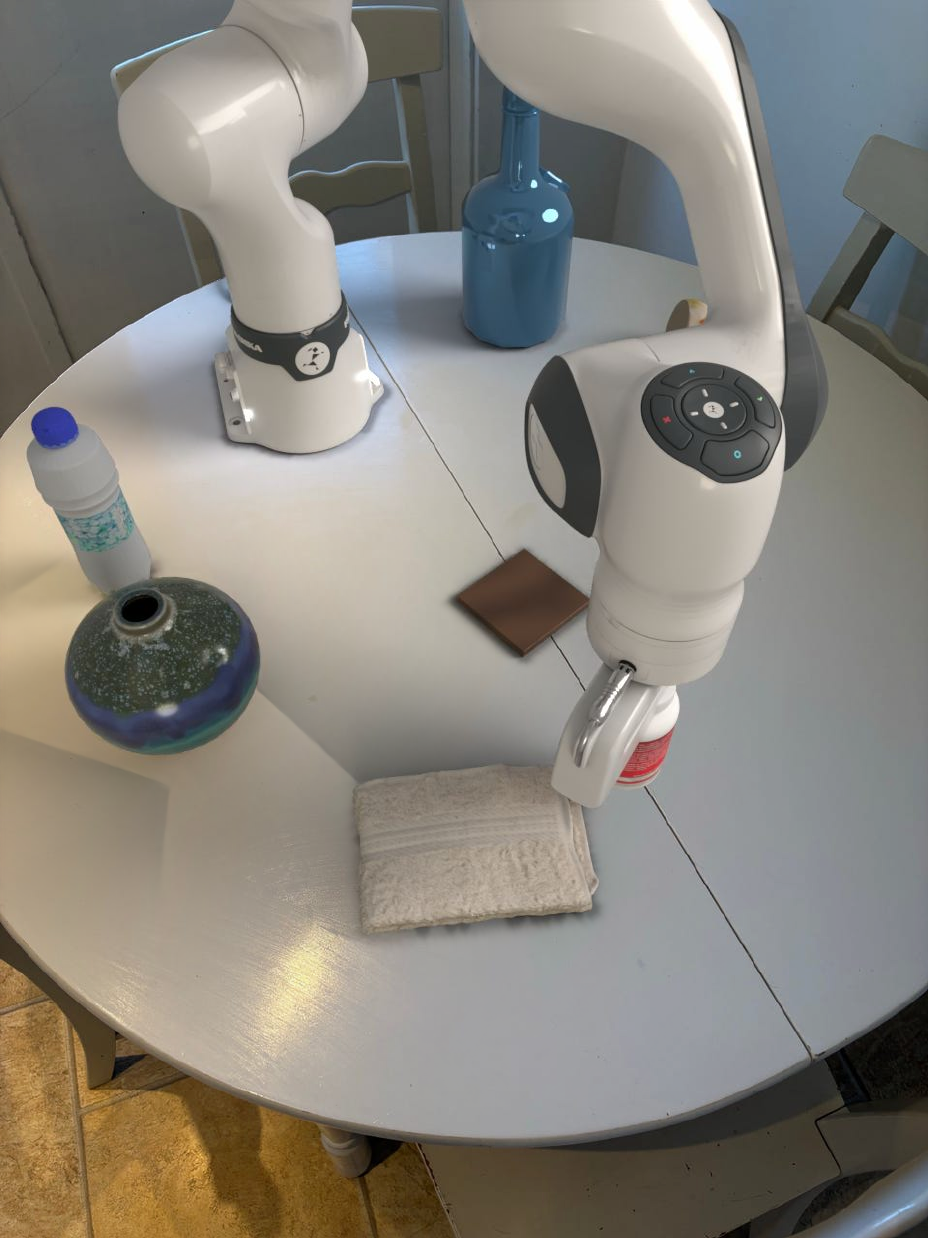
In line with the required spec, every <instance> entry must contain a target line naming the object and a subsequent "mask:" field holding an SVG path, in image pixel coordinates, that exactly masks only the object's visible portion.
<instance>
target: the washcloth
mask: <svg viewBox="0 0 928 1238" xmlns="http://www.w3.org/2000/svg"><path fill="white" fill-rule="evenodd" d="M552 769H553V765H540V764H537V765H526V766H525V765H524V766H519V765H506V764H504V763H492V764H489V765H485V766H476V767H470V768H469V767H468V768H461V769H449V770H447V769H445V770H437V771H428V772H425V773H421V774H420V773H418V774H413V775H400V776H388V777H379V778H375V779H371V780H368V781H365V782H363V783H360V784H357V785H355V787H354V788H353V789H352V794H353V796H352V797H351V799H352V804H353V809H354V810H353V811H354V812H353V816H354V821H355V825H356V826H355V827H356V828H357V835H359V850H360V852H359V858H360V863H358V865H357V871H358V873H357V886H358V890H357V892H358V899H359V921H360V925H361V929H362V931H364V932H365V934H366V935H369V934H371V933H373V934H376V933H382V932H392V931H394V932H395V933H396V932H397V933H398V932H399V931H400V930H404V929H406V930H413V929H416V928H422V927H423V928H425V927H437V926H439V925H440V926H445V925H450V926H455V925H457V924H473V923H474V922H475V923H477V922H478V923H479V922H481V921H485V922H486V921H489V920H494V919H495V918H496V919H505V918H515V917H518V916H521V917H522V916H542V917H543V916H544V917H545V916H547V915H557V914H562V913H566V914H569V913H570V914H571V913H584V912H587V911H591V910H592V908H593V897H592V896H593V895H594V894H595V892H596V890H597V889H598V887H599V884H600V881H601V879H598V876H597V874H596V872H595V870H594V865H593V862H592V857H591V852H590V847H589V841H588V835H587V831H586V825H585V820H584V815H583V810H582V805H580V804H578V803H576V802H575V801H573V800H571V799H569V798H567V797H566V796H564V795H562V794H561V793H559V792H558V791H557V790H555V789H554V788H553V787H552V785H551V774H552Z"/></svg>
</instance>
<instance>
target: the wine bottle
mask: <svg viewBox="0 0 928 1238" xmlns="http://www.w3.org/2000/svg"><path fill="white" fill-rule="evenodd" d="M500 111H501V112H502V119H501V120H502V121H501V137H500V140H501V141H500V155H499V168H498V169H497V170H496V171H493V172H491V173H488V174H486V175H484V176H483V177H482V178H481V179H479V180H478V181H477V182H476V183H475V184H474V185H472V187H471V188H470V189H469V190H468V191H466V194H465V195H464V198H463V200H462V202H461V211H460V212H461V215H460V216H461V217H460V218H461V300H462V301H461V302H462V303H461V304H462V305H461V306H462V307H461V308H462V323H463V324H464V326H465V328H466V329H467V330H468V331H469V332H470V333H471V334H472V335H474V336H475V337H476V338H477V339H478V340H479V341H481V342H484V343H488V344H491V345H494V346H497V347H500V348H529V347H532V346H535V345H537V344H540V343H542V342H545V341H548V340H551V339H552V338H553V336H554V335H555V334H556V333H557V332H558V330H559V329H560V328H561V327H562V326H563V324H564V322H565V320H566V313H567V303H568V293H569V281H570V271H571V260H572V250H573V240H574V237H573V236H574V229H575V228H574V227H575V213H574V209H573V204H572V200H571V196H570V195H569V192H570V185H569V184H568V183H567V182H566V181H564V180H562V179H560V178H559V177H557V176H556V175H555V174H553V173H552V172H550V170H548V169H546V168H545V167H543V166H542V165H540V134H541V133H540V132H541V130H540V129H541V112H543V111H542V110H540V109H538V108H536V107H534V106H533V105H531V104H529V103H527V102H526V101H524V100H522V99H521V98H520V97H518V96H517V95H515V94H514V93H513V92H511V91H510V90H509V89H508V88H507V87H506V86H505V85H504V84H503V87H502V97H501V103H500Z"/></svg>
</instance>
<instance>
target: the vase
mask: <svg viewBox="0 0 928 1238" xmlns="http://www.w3.org/2000/svg"><path fill="white" fill-rule="evenodd" d="M261 664H262V663H261V648H260V642H259V638H258V635H257V631H256V629H255V627H254V625H253V623H252V621H251V619H250V616H248V614H247V613H246V611H244V609H243V608H242V606H241V605H240V604H239V603H238V602H237V601H236V600H235V599H234V598H232V597H231V596H230V595H229V594H228V593H226V592H225V591H223V590H221V588H218V587H216V586H214V585H211V584H209V583H206V582H204V581H201V580H197V579H193V578H189V577H183V576H160V577H152V578H149V579H147V580H143V581H139V582H136V583H133V584H131V585H128V586H125V587H123V588H121V589H119V590H116V591H115V592H114V593H112V594H110V595H107V596H106V597H104V598H102V599H101V600H100V601H99V602H97V603H96V604H95V605H94V606H92V608H91V609H90V610H89V611H88V612H87V613H86V614H85V616H84V617H83V619H81V621H80V622H79V624H78V625H77V627H76V629H75V630H74V633H73V634H72V636H71V638H70V640H69V644H68V647H67V650H66V652H65V661H64V668H63V669H64V670H63V671H64V683H65V688H66V692H67V695H68V698H69V701H70V703H71V705H72V707H73V708H74V711H75V712H76V715H77V716H78V717H79V718H80V720H81V721H82V722H83V723H84V724H85V725H86V727H88V728H89V729H90V730H91V732H92V733H94V734H95V735H97V736H98V737H99V738H100V739H102V740H103V741H105V742H106V743H109V744H110V745H112V746H114V747H116V748H118V749H121V750H124V751H127V752H129V753H135V754H139V755H145V756H146V755H147V756H170V755H177V754H182V753H185V752H189V751H193V750H196V749H198V748H201V747H202V746H203V747H204V746H205V745H207V744H209V743H210V742H213V741H214V740H215V739H218V738H219V737H220V736H222V735H223V734H224V733H226V732H227V730H228V731H229V730H230V729H231V727H232V726H233V725H234V724H235V723H237V721H238V720H239V719H240V718H241V716H242V715H243V714H244V712H246V710H247V708H248V706H249V705H250V702H251V701H252V699H253V696H254V695H255V692H256V689H257V686H258V683H259V678H260V671H261Z"/></svg>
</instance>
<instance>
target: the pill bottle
mask: <svg viewBox="0 0 928 1238" xmlns="http://www.w3.org/2000/svg"><path fill="white" fill-rule="evenodd" d="M678 695H679V694H678V693H677V685H674V686H668V687H667V689H666V691H665V692H664V694H663V696H662V698H661V699H660V701H659V703H658V705H657V708H656V711H655V716H654V718H653V719H652V721H651V723H650V724H649V726H648V728H647V730H646V731H645V733H644V735H643V737H642V738H641V740H640V742H639V743H638V745H637V747H636V749H635V750H634V752H633V754H632V755H631V757H630V759H629V761H628V762H627V764H626V766H625V767H624V769H623V771H622V773H621V774H620V776H619V778H618V780H617V781H616V783H615V785H614V786H613V788H612V789H615V790H620V791H635V790H639V789H641V788H644V787H646V786H648V785H650V783H652V782H653V781H654V780H655V779H656V778H657V777H658V775H659V774H660V772H661V769H662V767H663V765H664V761H665V758H666V755H667V752H668V749H669V746H670V743H671V739H672V737H673V734H674V730H675V728H676V725H677V722H678V718H679V716H680V715H679V714H680V698H679V696H678Z"/></svg>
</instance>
